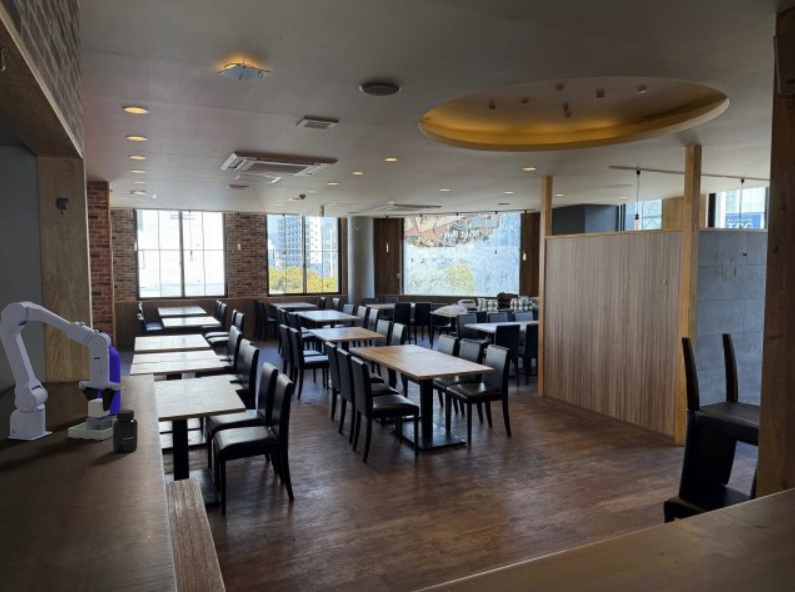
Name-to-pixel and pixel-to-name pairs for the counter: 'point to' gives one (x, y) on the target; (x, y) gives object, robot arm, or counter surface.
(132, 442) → the supplement bottle
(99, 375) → the robot arm
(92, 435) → the tray
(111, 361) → the bottle
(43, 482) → the counter surface
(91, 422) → the grey square block
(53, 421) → the counter surface
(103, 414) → the carton
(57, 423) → the counter surface
